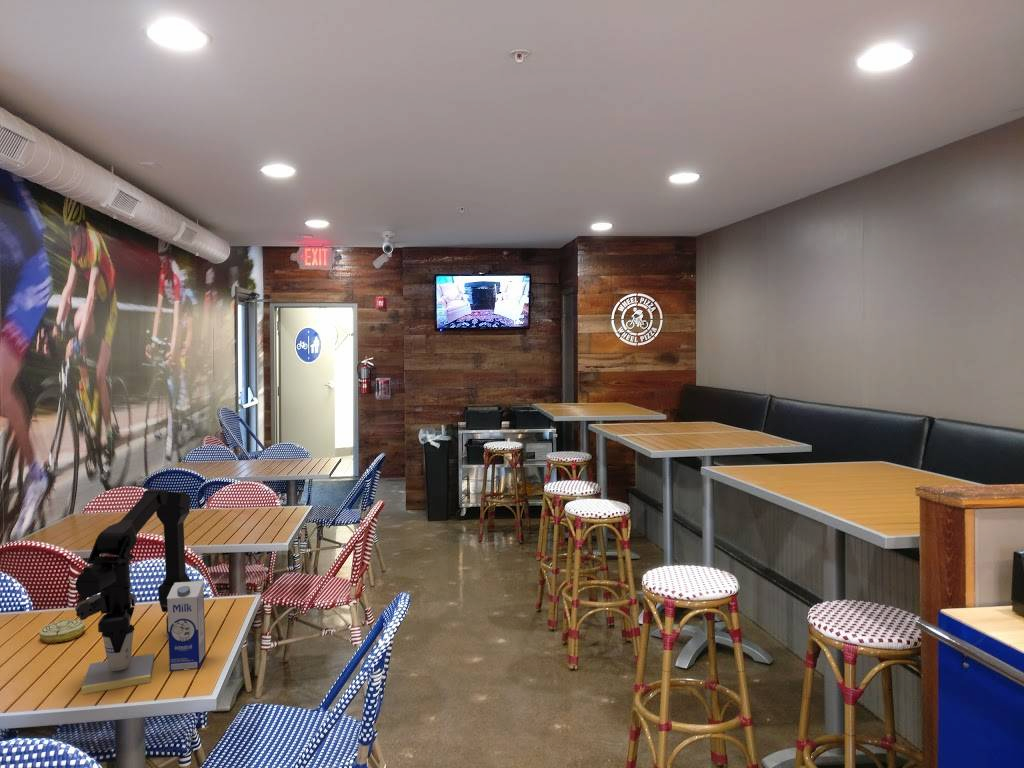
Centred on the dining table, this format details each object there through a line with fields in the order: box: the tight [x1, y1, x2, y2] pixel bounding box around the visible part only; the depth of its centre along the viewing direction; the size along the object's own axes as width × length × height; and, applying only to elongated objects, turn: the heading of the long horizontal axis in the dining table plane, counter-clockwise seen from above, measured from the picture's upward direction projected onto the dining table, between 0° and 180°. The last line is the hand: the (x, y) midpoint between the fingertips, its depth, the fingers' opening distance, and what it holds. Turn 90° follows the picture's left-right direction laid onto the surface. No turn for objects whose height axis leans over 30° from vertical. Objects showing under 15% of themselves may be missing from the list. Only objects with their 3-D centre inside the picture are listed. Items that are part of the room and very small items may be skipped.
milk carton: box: [167, 580, 206, 672], centre depth 176 cm, size 7×7×20 cm
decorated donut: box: [38, 619, 86, 644], centre depth 195 cm, size 10×11×4 cm
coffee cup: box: [101, 624, 135, 671], centre depth 170 cm, size 7×7×10 cm
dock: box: [81, 653, 155, 695], centre depth 171 cm, size 14×14×2 cm
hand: (119, 646), depth 170 cm, fingers closed on coffee cup, 7 cm apart
